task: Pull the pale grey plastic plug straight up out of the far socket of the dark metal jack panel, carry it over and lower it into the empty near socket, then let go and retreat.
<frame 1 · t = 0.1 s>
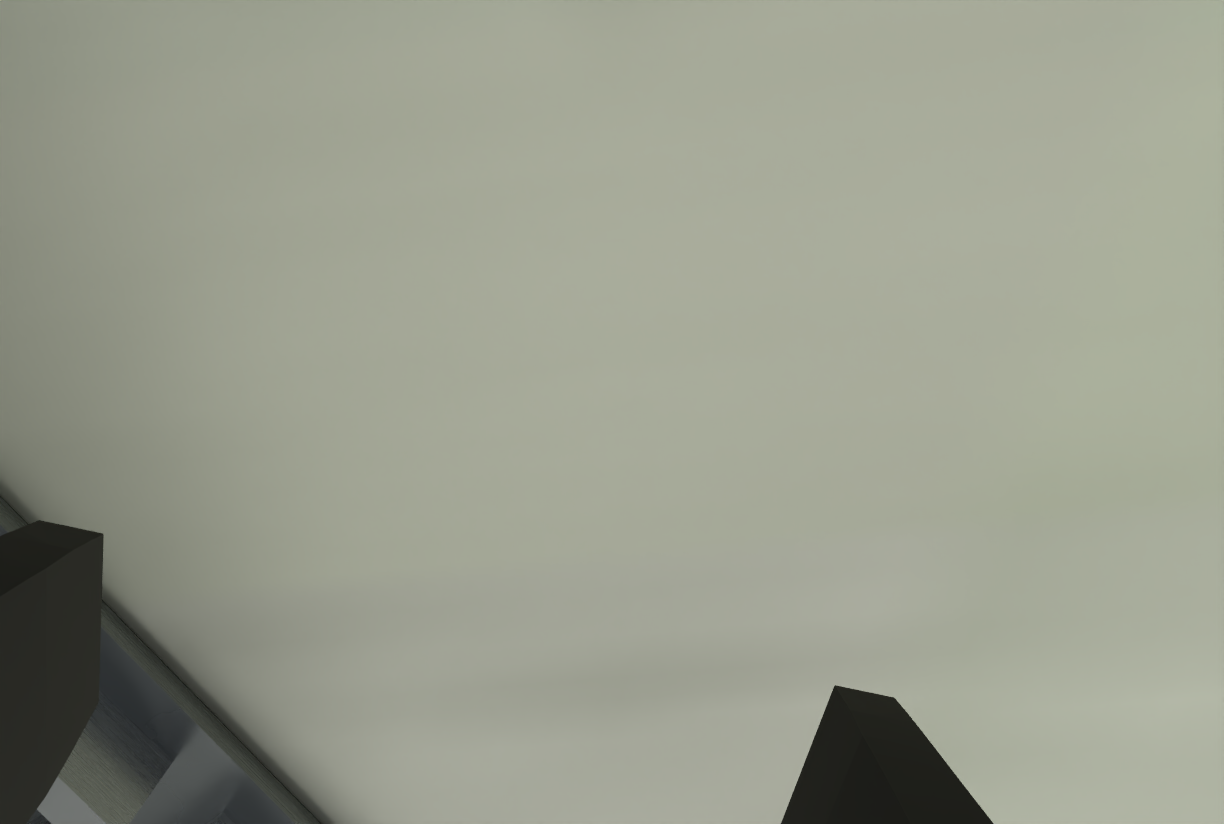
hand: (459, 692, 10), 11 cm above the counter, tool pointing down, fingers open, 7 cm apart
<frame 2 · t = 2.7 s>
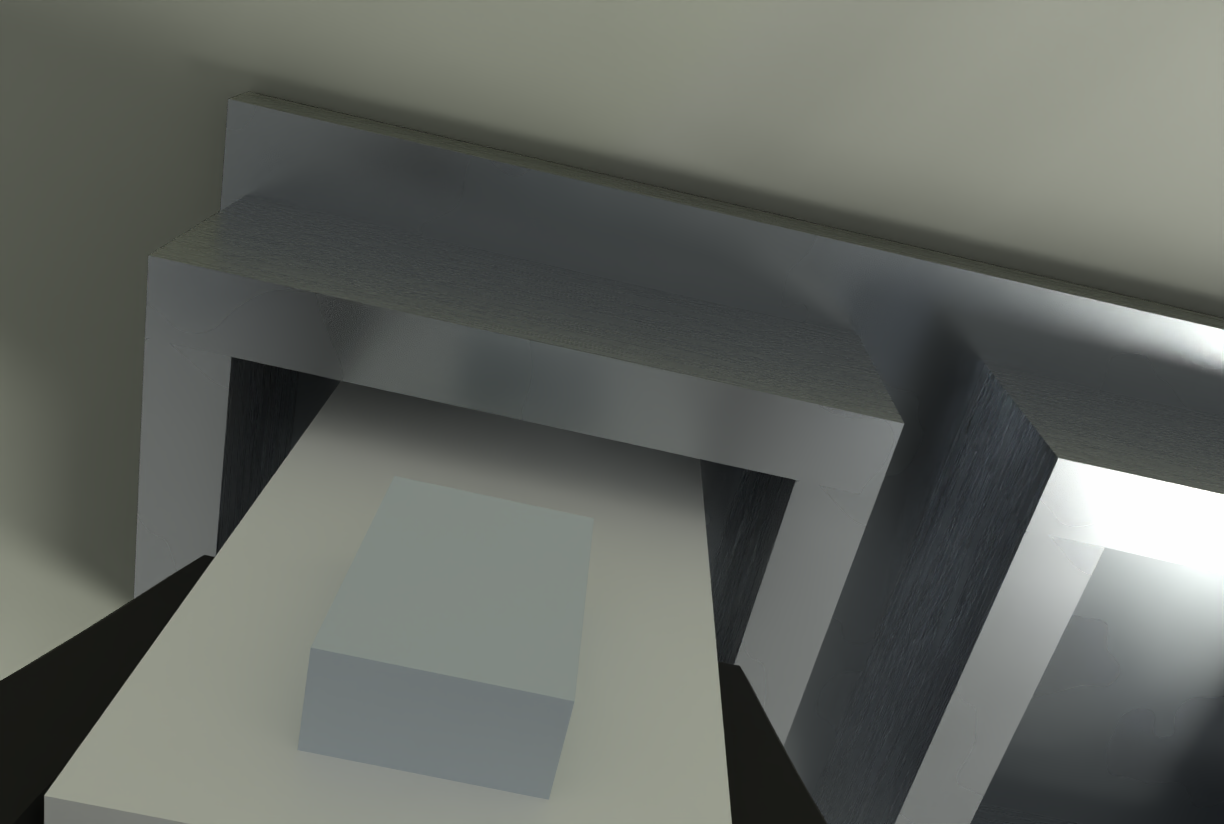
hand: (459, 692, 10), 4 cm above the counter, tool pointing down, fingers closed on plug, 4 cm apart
plug: (501, 531, 13), point 1 cm above the counter, touching gripper, jack panel
jack panel: (822, 574, 14), on the counter
when the fingers open (4 cm above the counter, at t = 6.7 s): plug stays where it is, resting on jack panel.
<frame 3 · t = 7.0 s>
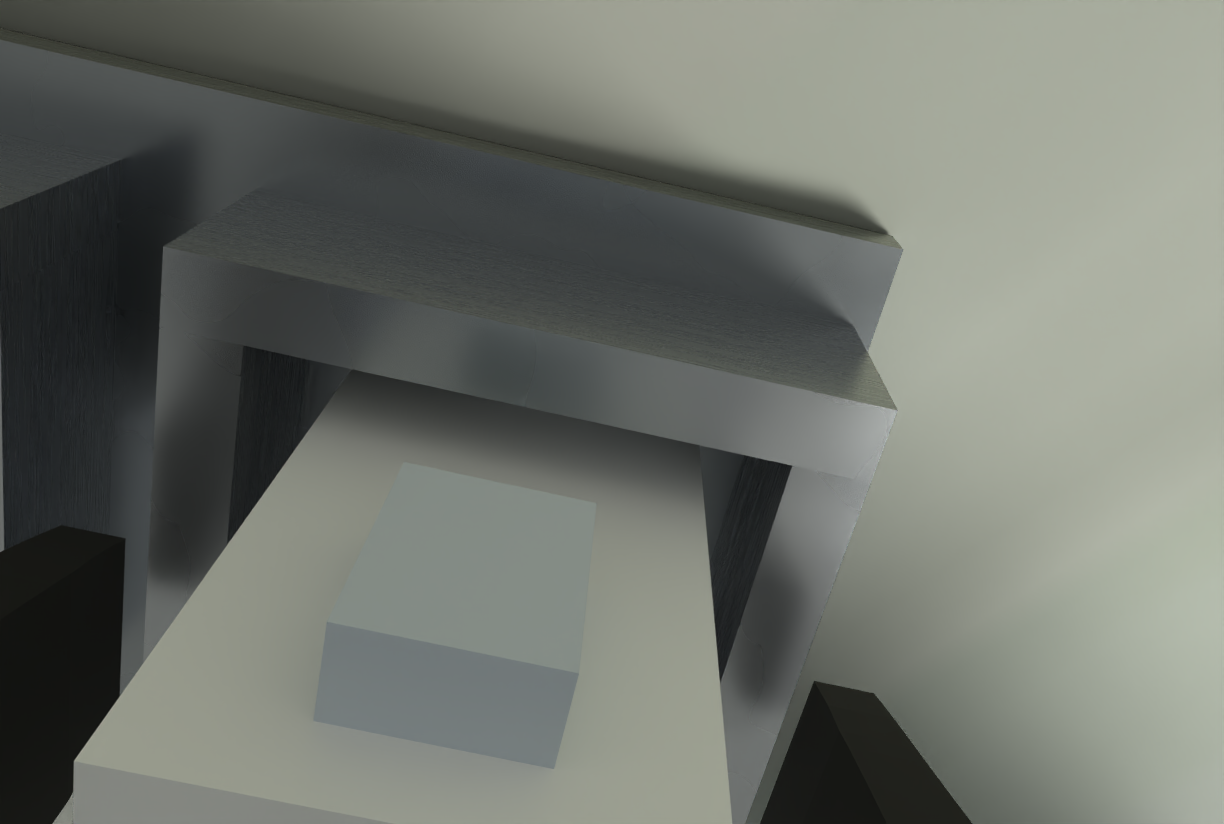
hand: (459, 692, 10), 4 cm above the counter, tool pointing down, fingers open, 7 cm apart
plug: (505, 521, 13), point 1 cm above the counter, touching jack panel
jack panel: (191, 428, 14), on the counter
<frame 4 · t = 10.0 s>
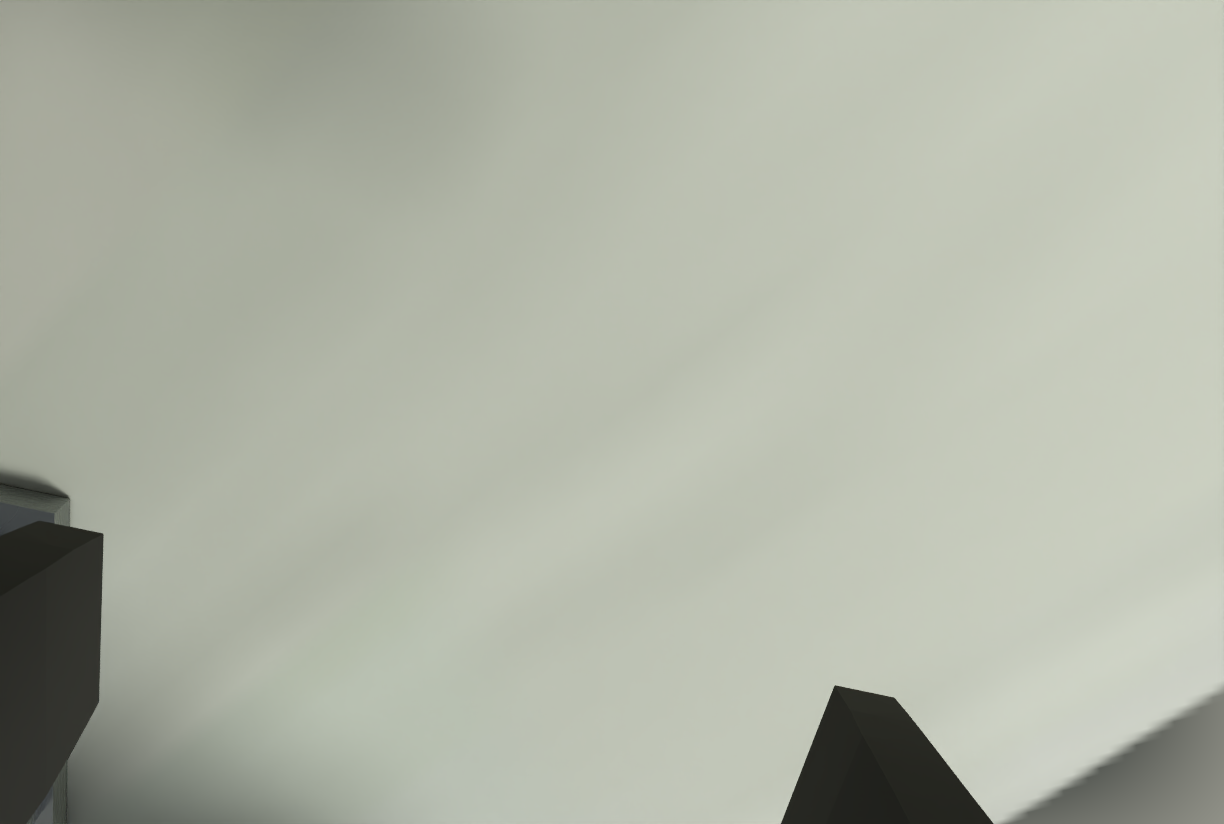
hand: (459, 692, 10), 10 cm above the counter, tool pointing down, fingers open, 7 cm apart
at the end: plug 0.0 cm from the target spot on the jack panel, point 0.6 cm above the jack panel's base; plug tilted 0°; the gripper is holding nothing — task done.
